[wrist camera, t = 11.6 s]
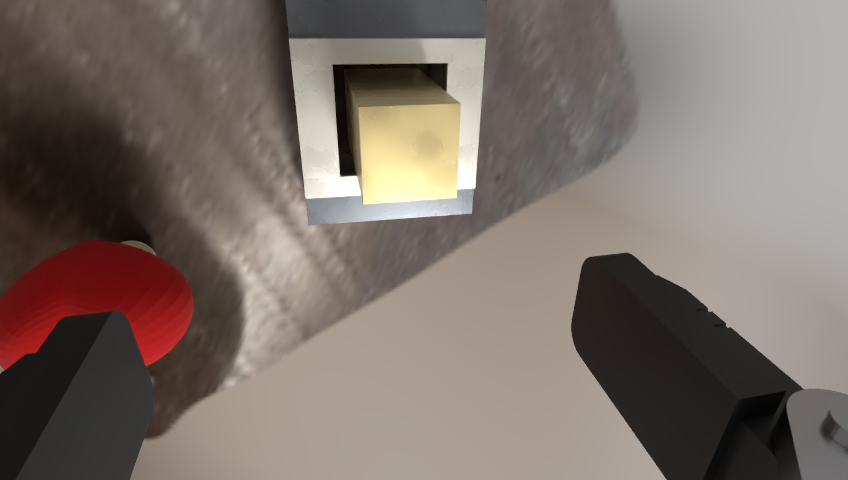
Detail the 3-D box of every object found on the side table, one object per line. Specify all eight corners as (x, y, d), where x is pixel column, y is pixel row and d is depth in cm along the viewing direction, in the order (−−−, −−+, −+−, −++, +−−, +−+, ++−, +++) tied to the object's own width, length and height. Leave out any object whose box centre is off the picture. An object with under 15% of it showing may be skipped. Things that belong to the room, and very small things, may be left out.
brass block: (343, 69, 29) (358, 107, 20) (416, 67, 30) (460, 103, 21) (348, 141, 31) (363, 204, 22) (416, 138, 32) (456, 197, 23)
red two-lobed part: (195, 190, 30) (149, 273, 22) (228, 282, 34) (200, 387, 25) (34, 217, 29) (-83, 317, 20) (86, 310, 32) (4, 430, 24)
